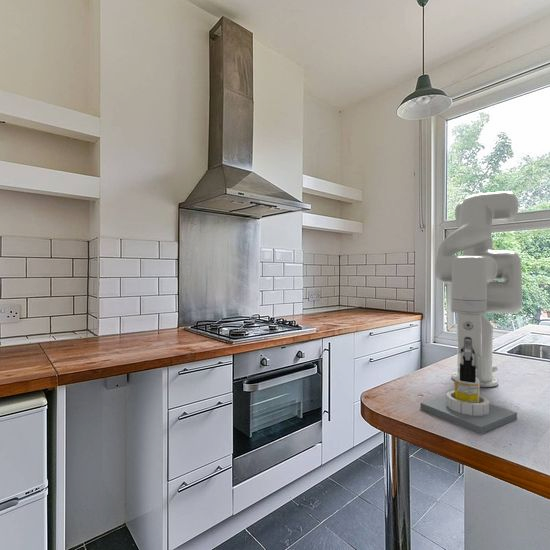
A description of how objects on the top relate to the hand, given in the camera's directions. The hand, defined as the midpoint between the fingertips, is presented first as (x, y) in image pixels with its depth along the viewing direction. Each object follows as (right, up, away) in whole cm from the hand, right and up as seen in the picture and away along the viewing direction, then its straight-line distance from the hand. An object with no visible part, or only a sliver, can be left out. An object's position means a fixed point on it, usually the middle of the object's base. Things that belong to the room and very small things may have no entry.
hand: (467, 375), depth 82 cm
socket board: (0, -9, 0) cm, 9 cm away
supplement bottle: (0, -8, 0) cm, 8 cm away
